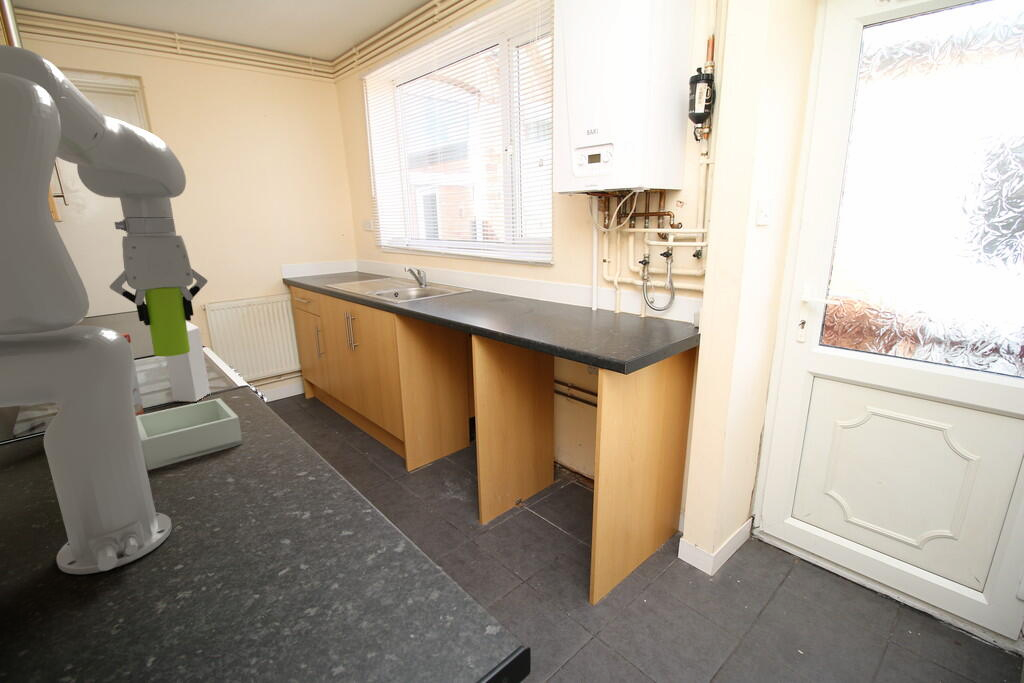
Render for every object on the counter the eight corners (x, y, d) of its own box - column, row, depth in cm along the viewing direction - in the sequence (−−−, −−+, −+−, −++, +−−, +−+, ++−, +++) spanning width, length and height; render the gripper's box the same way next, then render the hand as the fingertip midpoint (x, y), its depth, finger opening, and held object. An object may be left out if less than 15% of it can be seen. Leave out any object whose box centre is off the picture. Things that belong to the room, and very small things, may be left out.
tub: (242, 444, 99) (238, 417, 98) (147, 470, 89) (141, 440, 87) (223, 422, 111) (219, 398, 109) (137, 443, 100) (132, 416, 99)
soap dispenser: (201, 350, 97) (187, 251, 92) (162, 358, 91) (145, 252, 87) (187, 347, 100) (173, 250, 95) (148, 353, 94) (131, 251, 90)
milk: (173, 403, 124) (157, 320, 118) (189, 395, 129) (174, 315, 124) (197, 403, 124) (181, 319, 118) (211, 395, 129) (197, 315, 124)
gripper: (91, 228, 81) (113, 331, 85) (208, 227, 93) (222, 318, 97) (89, 228, 87) (110, 325, 91) (200, 228, 98) (213, 314, 102)
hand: (167, 321), depth 94 cm, fingers closed on soap dispenser, 5 cm apart
